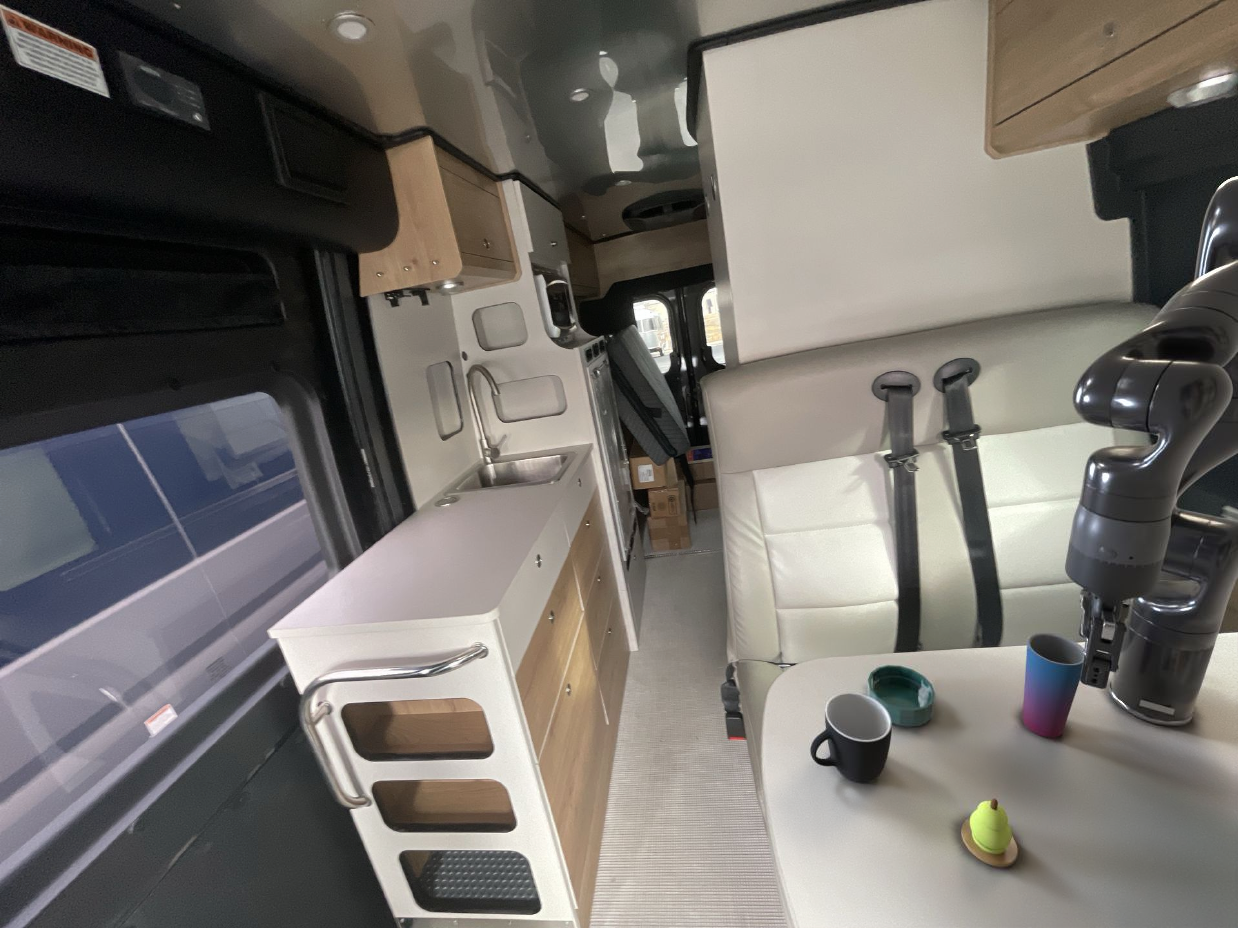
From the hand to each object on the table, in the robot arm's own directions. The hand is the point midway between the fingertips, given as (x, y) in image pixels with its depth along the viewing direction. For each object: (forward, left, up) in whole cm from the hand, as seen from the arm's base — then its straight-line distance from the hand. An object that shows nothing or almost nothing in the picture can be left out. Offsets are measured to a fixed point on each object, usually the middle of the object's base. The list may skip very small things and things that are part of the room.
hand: (1091, 659), depth 63 cm
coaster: (+10, -7, -25) cm, 28 cm away
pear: (+10, -7, -25) cm, 27 cm away
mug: (+8, -25, -25) cm, 37 cm away
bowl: (-8, -21, -25) cm, 34 cm away
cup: (-14, -2, -25) cm, 29 cm away
